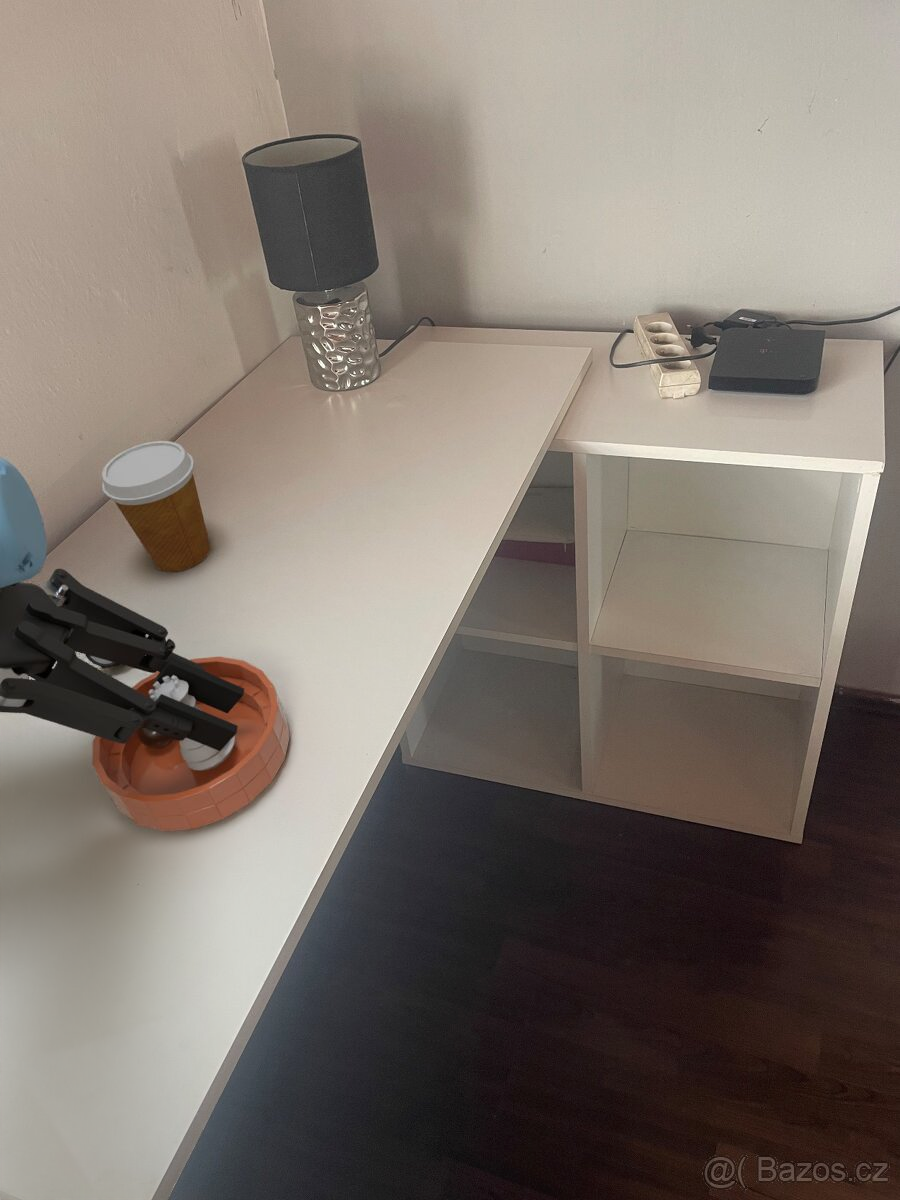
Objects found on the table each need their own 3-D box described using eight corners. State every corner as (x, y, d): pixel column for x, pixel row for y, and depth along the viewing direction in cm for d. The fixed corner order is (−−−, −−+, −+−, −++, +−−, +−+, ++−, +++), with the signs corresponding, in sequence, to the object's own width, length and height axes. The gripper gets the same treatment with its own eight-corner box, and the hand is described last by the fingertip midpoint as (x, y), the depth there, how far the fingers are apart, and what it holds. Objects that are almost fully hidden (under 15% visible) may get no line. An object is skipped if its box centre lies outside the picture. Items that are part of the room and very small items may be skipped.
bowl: (235, 853, 66) (217, 819, 63) (77, 813, 71) (53, 780, 68) (320, 706, 76) (307, 670, 73) (176, 680, 81) (159, 646, 78)
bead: (133, 727, 72) (128, 739, 74) (162, 748, 72) (156, 760, 74) (156, 701, 74) (151, 714, 76) (185, 722, 74) (179, 734, 76)
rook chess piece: (246, 745, 72) (198, 678, 67) (202, 782, 70) (149, 715, 65) (223, 725, 75) (175, 659, 70) (180, 759, 73) (129, 694, 69)
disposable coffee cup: (141, 541, 100) (99, 452, 92) (222, 520, 101) (188, 430, 93) (139, 591, 93) (94, 499, 85) (227, 567, 94) (190, 474, 86)
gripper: (-42, 556, 69) (225, 673, 79) (-138, 711, 56) (193, 827, 66) (-10, 491, 65) (266, 624, 75) (-105, 642, 53) (241, 776, 63)
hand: (231, 719), depth 71 cm, fingers closed on rook chess piece, 3 cm apart
